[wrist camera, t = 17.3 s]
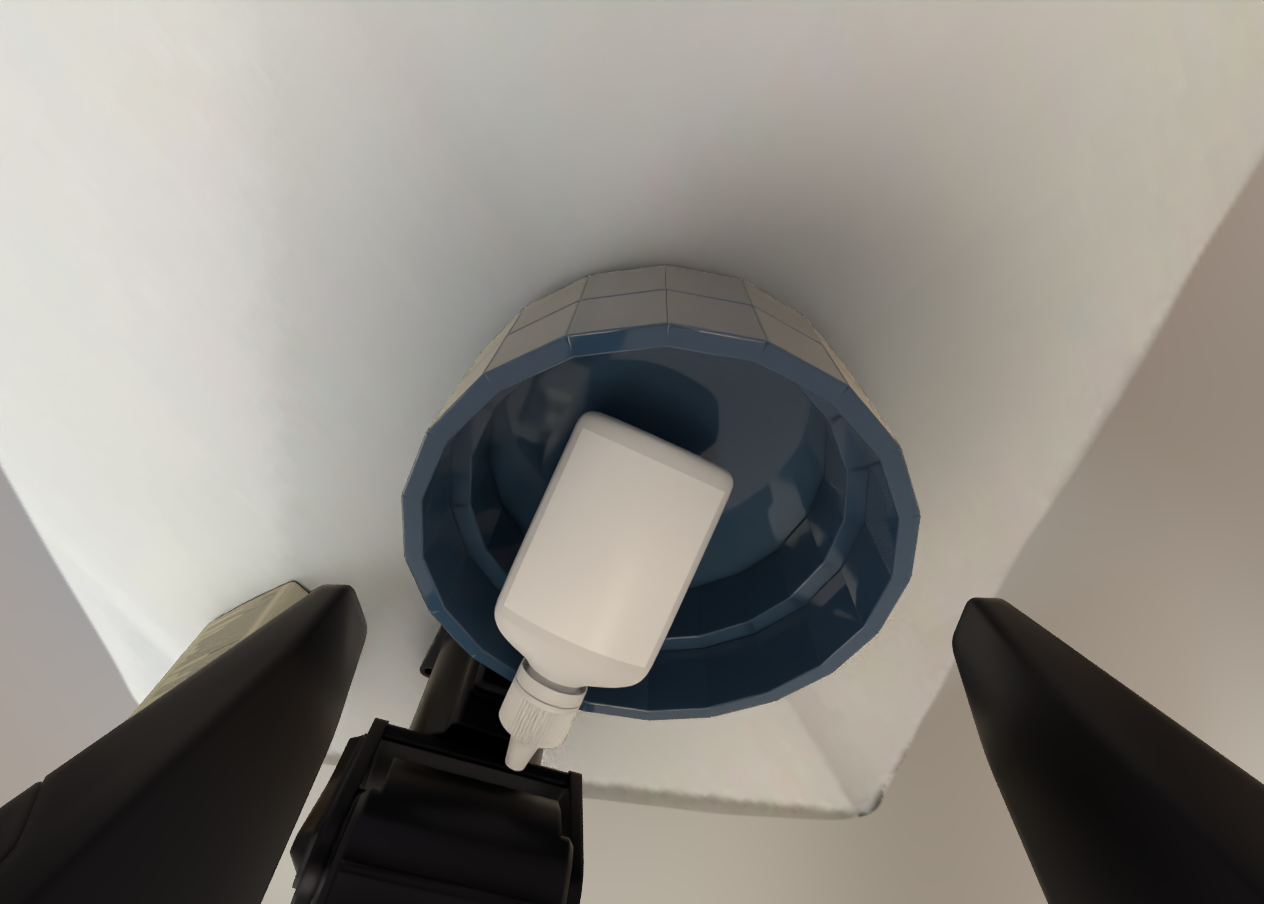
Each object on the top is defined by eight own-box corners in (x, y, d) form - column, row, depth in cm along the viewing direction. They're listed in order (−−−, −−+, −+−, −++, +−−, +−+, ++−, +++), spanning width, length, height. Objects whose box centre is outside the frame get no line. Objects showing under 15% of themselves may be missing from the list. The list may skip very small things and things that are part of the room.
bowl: (716, 641, 28) (729, 763, 23) (412, 517, 25) (348, 629, 20) (946, 393, 21) (1041, 491, 15) (558, 169, 17) (515, 201, 12)
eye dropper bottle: (624, 417, 16) (448, 807, 16) (758, 483, 19) (609, 815, 19) (567, 398, 20) (424, 715, 20) (686, 455, 23) (561, 732, 23)
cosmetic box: (274, 670, 30) (76, 968, 20) (207, 619, 29) (-51, 920, 18) (364, 632, 29) (196, 939, 18) (298, 575, 27) (69, 882, 16)
